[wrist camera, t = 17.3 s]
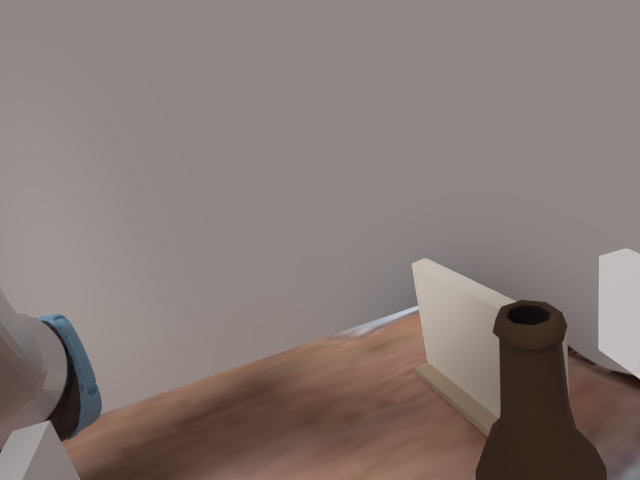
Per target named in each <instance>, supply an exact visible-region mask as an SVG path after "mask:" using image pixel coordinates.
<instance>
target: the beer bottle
mask: <svg viewBox="0 0 640 480" xmlns="http://www.w3.org/2000/svg"><path fill="white" fill-rule="evenodd" d="M566 329H567V324H566V321H565V319H564V317H563V314H562V312H560V311H559V310H557V309H556V308H554V307H553V306H551V305H549V304H548V303H546V302H537V301H526V300H520V301H517V302H514V303H511V304H508V305H505V306H502V307H501V308H500V310H499V312H498V314H497V317H496V319H495V323H494V327H493V332H492V333H493V334H495V335H496V336H497V337H498V338H499V357H500V409H501V411H500V418H499V419H498V420H497V421H496V422H494V423H493V424H492V427H491V430H490V432H489V435H488V438H487V441H486V444H485V446H484V449H483V452H482V455H481V458H480V461H479V463H478V466H477V469H476V480H607V473H606V467H605V465H604V463H603V461H602V459H601V458H600V456H599V454H598V452H597V450H596V448H595V447H594V446H593V445H592V444H591V443H590V442H589V441H588V440H587V439H586V438H585V437H584V436H583V435H582V434H581V433H580V432H579V431H578V430H577V429H576V427H575V423H574V420H573V416H572V413H571V409H570V403H569V395H568V387H567V379H566V371H565V362H564V354H563V346H562V342H563V341H564V337H565V333H566Z"/></svg>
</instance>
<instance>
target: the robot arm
mask: <svg viewBox="0 0 640 480" xmlns="http://www.w3.org/2000/svg"><path fill="white" fill-rule="evenodd" d="M598 336H599V337H598V339H599V340H598V341H599V343H598V349H599V350H600V351H601V352H603V353H604V354H605V355H607V356H608V357H610V358H611V359H612V360H614V361H615V362H617V363H618V364H619V365H621V366H622V367H624V368H625V369H626V370H628V371H629V372H631V373H632V374H633V375H635V376H636V377H638V378H639V379H640V254H639V253H637V252H635V251H632V250H630V249H627V248H625V249H622V250H619V251H615V252H612V253H609V254H605V255H602V256H600V257H599V334H598ZM101 409H102V403H101V396H100V392H99V389H98V387H97V385H96V379H95V375H94V372H93V369H92V367H91V364H90V361H89V359H88V356H87V354H86V352H85V350H84V347H83V345H82V343H81V341H80V339H79V337H78V335H77V333H76V331H75V329H74V328H73V326H72V324H71V323H70V322H69V321H68V320H67V319H66V318H65V317H64V316H63V315H60V314H53V315H49V316H47V317H46V316H42V317H39V318H36V319H35V318H33V317H30V316H27V315H25V314H20V313H16V311H15V310H14V308H13V307H12V306H11V304H10V303H9V301H8V300H7V298H6V297H5V295H4V294H3V292H2V291H1V289H0V480H80V478H79V476H78V474H77V472H76V470H75V468H74V466H73V464H72V462H71V460H70V458H69V456H68V454H67V452H66V451H65V449H64V447H63V445H62V443H61V442H62V441H64V440H66V439H71V438H73V437H75V436H76V435H77V434H78V433H79V432H80V431H81V430H83V429H84V428H86V427H88V426H89V425H91V424H92V423H94V422H95V421H96V420H97V419H98V417H99V415H100V413H101Z"/></svg>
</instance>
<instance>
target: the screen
mask: <svg viewBox="0 0 640 480" xmlns="http://www.w3.org/2000/svg"><path fill="white" fill-rule="evenodd" d="M412 269H413V275H414V281H415V288H416V294H417V300H418V306H419V313H420V319H421V325H422V331H423V338H424V344H425V350H426V356H427V362H425V363H423V364H421V365H419V366H417V367H415V368H414V369H415V374H416V375H417V376H418V377H419V378H420V379H421V380H423V381H424V382H425V383H426V384H427V385H428V386H430V387H431V388H432V389H433V390H434V391H435V392H436V393H438V394H439V395H440V396H441V397H442V398H443V399H444V400H446V401H447V402H448V403H449V404H450V405H451V406H452V407H454V408H455V409H456V410H457V411H458V412H459V413H461V414H462V415H463V416H464V417H465V418H466V419H467V420H469V421H470V422H471V423H472V424H473V425H474V426H475V427H477V428H478V429H479V430H480V431H481V432H482V433H483V434H485V435H486V436H487V437H488V435H489V432H490V430H491V427H492V424H493V423H494V422H496V421H497V420H498V419H499V418H500V411H501V409H500V357H499V338H498V337H497V336H496V335H495V334H493V333H492V332H493V327H494V323H495V319H496V317H497V314H498V312H499V310H500V308H501V307H502V306H505V305H508V304H511V303H514V302H517V301H515V300H512V299H510V298H508V297H506V296H504V295H502V294H500V293H498V292H496V291H493V290H492V289H489V288H487V287H485V286H483V285H481V284H479V283H477V282H475V281H473V280H470V279H468V278H466V277H464V276H462V275H460V274H458V273H456V272H454V271H452V270H450V269H448V268H445V267H443V266H441V265H439V264H437V263H435V262H433V261H431V260H429V259H427V258H425V259H422V260H419V261H417V262H414V263H412ZM562 346H563V354H564V362H565V371H566V379H567V387H568V395H569V374H568V348H567V329H566V333H565V337H564V341H563V342H562ZM569 403H570V401H569Z"/></svg>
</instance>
